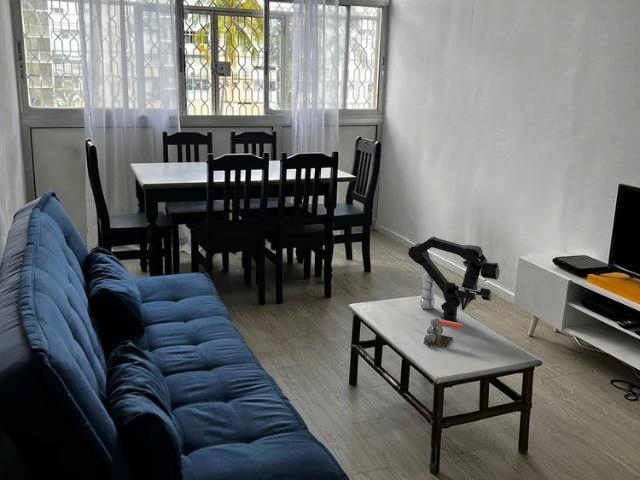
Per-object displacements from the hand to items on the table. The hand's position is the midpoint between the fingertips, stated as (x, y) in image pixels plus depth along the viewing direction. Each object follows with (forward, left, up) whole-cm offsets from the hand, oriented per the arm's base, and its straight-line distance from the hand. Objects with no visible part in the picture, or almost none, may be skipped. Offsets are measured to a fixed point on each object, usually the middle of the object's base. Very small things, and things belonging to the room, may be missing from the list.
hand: (462, 309), depth 253 cm
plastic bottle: (-29, -12, -12) cm, 34 cm away
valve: (+7, -9, -12) cm, 16 cm away
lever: (+8, -7, -5) cm, 11 cm away
